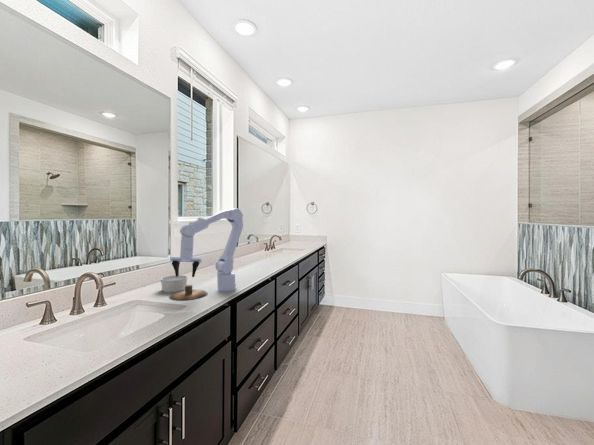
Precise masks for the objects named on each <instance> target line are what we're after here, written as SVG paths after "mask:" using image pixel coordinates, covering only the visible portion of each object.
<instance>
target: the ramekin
mask: <svg viewBox="0 0 594 445" xmlns="http://www.w3.org/2000/svg"><path fill="white" fill-rule="evenodd" d="M187 281H188V276H187V275H183V274H179V275H178V277H176V274H175V275H168V276H164V277H161V278H160V283H161V290H162V291H163V292H164V293H176V292H179V291H184V290H185V286H186V285H188V282H187Z"/></svg>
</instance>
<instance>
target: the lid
mask: <svg viewBox="0 0 594 445" xmlns="http://www.w3.org/2000/svg"><path fill="white" fill-rule="evenodd" d="M206 292H207V291H205V290H204V289H203V290H202V289H193V284H187V285H186V286H185V290H182V291H178V292H172V293H171V295H170V296H171V298H172V299H175V300H188V301H192V300H191V299H195V300H198V299H197V298H200V297H203V296H205V295H206ZM205 297H206V296H205ZM203 298H204V297H203ZM200 299H201V298H200ZM175 300H174V301H175Z"/></svg>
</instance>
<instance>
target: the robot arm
mask: <svg viewBox="0 0 594 445" xmlns="http://www.w3.org/2000/svg"><path fill="white" fill-rule="evenodd" d="M243 217H244V214H243V212H242V211H241V209H240V208H236V207H235V208H227V209H223V210H221V211H219V212H217V213H215V214H213V215H210V216H208V217H207V218H205V217H198V218H197V220H194V221H190V222H188V224H184V225H182V226H181V228H180V229H179V234H180V235H181V240H180V251H179V252H180V254H179V256H177V257H175V256H171V257H170V258H169V262H171V266H172V268H173V270H174V274H175V275H176V277H178V275H180V264H181V262H183V263H192V272H191V277H192V278H194V277H195V276H196V271H197V269H198V268H199V265H200V264H202V262H203V258H201V257H193V256H194V255H193V252H194V237H195V235H196V234H197V233H200V232H201V231H204V230H206V229H208V227H209V226H210V225H211V224H213V223H216V222H218V221H220V220H222V219H225V220H227V221H228V222H229V223H230V226H232V228H231V230H230V233H229V236H228V238H227V239H228V240H227V242H226V244H225V246H224V247H225V249H224V251H223V253H222V255H221V256H220V257H219V259H218V261H217V262H216V263H215V269H216V271H217V274H216V275H217V276H216V277H217V278H216V279H217V280H216V281H217V287H216V292H229V291H231V292H232V291H236V285H237V284H236V273H235V272H232V271H233V269H234V262H235V261H234V254H235V252H236V249H237V246H238V243H239V239H240V236H241V234H242V231H243V228H244V219H243Z"/></svg>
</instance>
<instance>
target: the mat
mask: <svg viewBox="0 0 594 445" xmlns="http://www.w3.org/2000/svg"><path fill="white" fill-rule="evenodd" d="M208 295H209V293H208V291H206V295H205V296H203V297H200V298H197V299H191V300H190V301H195V300H200V299H203V298H205V297H207V296H208ZM168 299H169V300H172V301H176V302H177V301H178V302H186V301H189V300H175V299H172V298H171V295H169V296H168Z"/></svg>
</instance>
